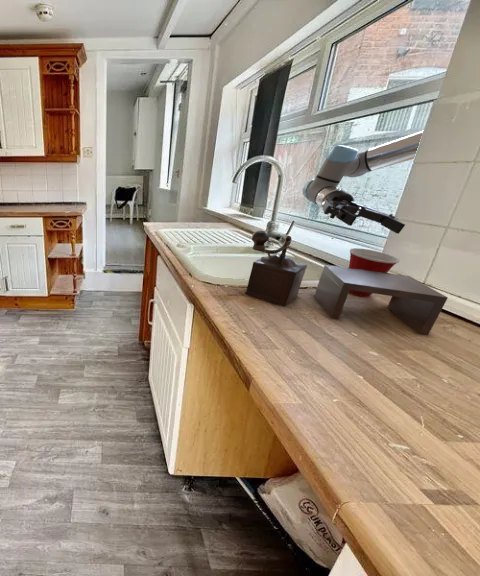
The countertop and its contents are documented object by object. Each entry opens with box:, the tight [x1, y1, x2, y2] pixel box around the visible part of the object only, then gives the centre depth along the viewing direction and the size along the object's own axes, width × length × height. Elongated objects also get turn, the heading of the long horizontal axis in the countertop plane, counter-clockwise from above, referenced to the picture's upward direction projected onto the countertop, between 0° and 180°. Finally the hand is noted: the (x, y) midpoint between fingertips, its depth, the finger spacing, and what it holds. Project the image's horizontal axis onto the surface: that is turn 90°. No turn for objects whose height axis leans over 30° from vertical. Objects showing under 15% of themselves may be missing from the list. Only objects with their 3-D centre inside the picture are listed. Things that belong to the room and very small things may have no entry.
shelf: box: [314, 264, 449, 336], centre depth 74 cm, size 18×15×9 cm
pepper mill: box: [244, 230, 308, 307], centre depth 78 cm, size 16×11×18 cm
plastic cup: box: [348, 247, 400, 298], centre depth 86 cm, size 11×11×12 cm
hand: (376, 225), depth 85 cm, fingers open, 13 cm apart
